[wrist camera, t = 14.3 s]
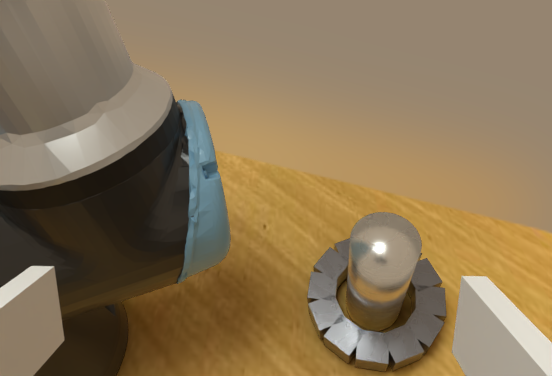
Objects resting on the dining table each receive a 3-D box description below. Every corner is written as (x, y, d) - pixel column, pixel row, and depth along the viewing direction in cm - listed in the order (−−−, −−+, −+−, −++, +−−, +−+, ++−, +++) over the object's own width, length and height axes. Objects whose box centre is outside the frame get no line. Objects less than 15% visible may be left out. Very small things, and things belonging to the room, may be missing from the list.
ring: (301, 358, 37) (299, 349, 35) (318, 241, 44) (317, 229, 42) (442, 381, 35) (449, 373, 33) (436, 254, 42) (442, 242, 40)
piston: (343, 326, 39) (347, 268, 29) (347, 277, 41) (352, 209, 32) (399, 334, 38) (422, 277, 28) (399, 283, 40) (420, 215, 31)
